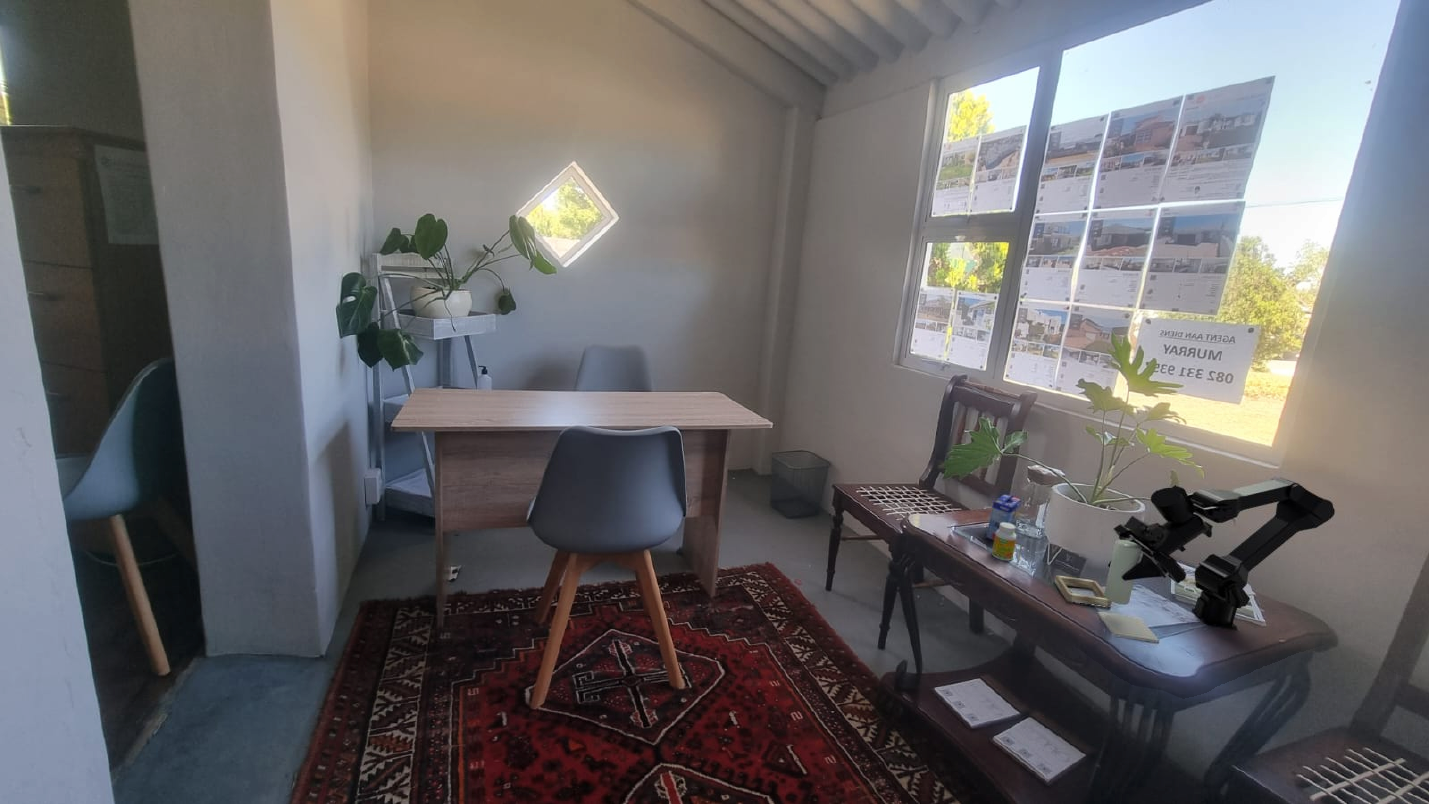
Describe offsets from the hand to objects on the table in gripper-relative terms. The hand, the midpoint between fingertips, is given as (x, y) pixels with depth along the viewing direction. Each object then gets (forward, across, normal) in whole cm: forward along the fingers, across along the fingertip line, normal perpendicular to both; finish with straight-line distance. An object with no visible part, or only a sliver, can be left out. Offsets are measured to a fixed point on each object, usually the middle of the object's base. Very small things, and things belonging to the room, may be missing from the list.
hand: (1115, 573), depth 137 cm
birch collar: (+9, -9, +8) cm, 15 cm away
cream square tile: (+6, +4, +10) cm, 12 cm away
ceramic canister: (+4, 0, +6) cm, 7 cm away
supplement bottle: (+18, -27, -1) cm, 33 cm away
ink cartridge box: (+14, -41, +2) cm, 43 cm away
